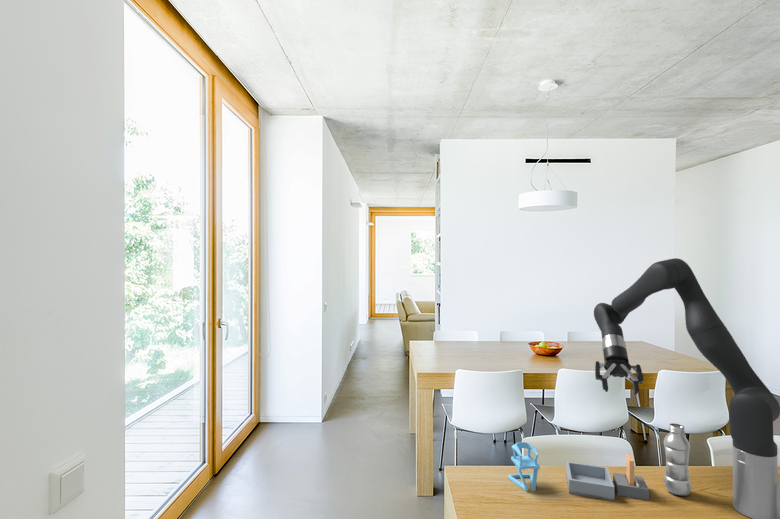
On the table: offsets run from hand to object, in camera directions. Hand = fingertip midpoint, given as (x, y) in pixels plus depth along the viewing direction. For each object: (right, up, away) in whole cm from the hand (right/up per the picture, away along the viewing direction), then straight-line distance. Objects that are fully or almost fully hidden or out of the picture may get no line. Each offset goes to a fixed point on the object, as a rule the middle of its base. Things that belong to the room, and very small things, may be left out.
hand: (621, 392), depth 135 cm
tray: (-16, -26, -10) cm, 32 cm away
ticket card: (-4, -26, -12) cm, 29 cm away
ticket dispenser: (-4, -26, -12) cm, 29 cm away
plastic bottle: (+9, -26, -14) cm, 31 cm away
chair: (-35, -26, -9) cm, 44 cm away
